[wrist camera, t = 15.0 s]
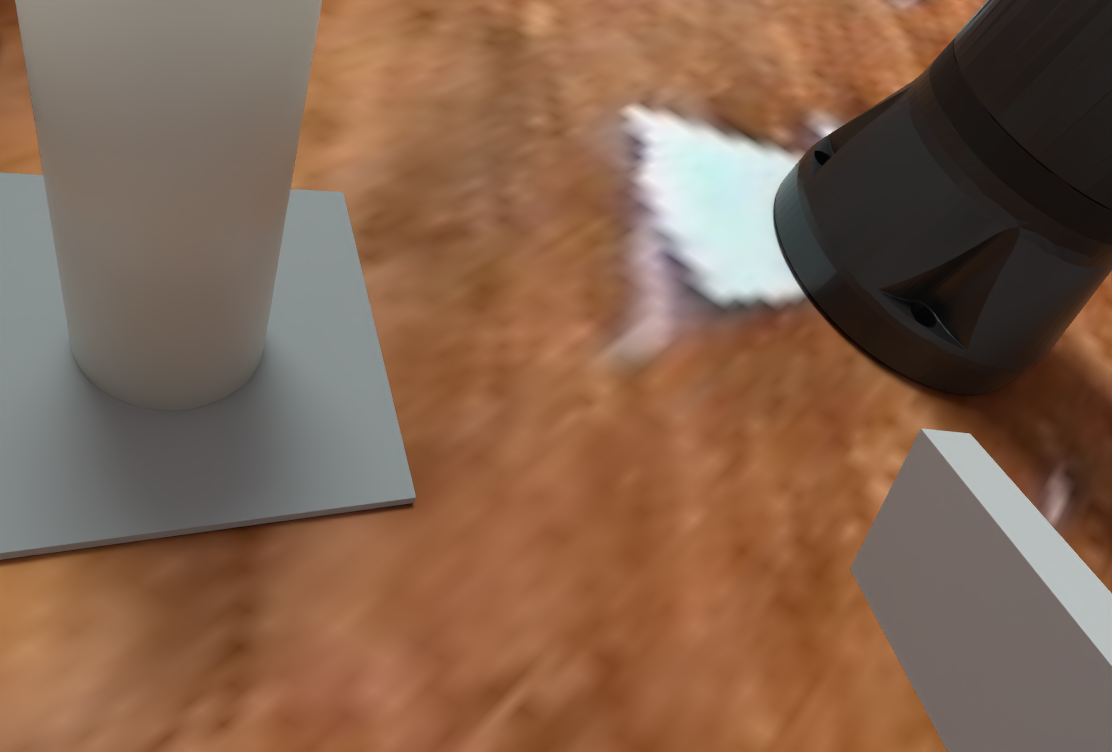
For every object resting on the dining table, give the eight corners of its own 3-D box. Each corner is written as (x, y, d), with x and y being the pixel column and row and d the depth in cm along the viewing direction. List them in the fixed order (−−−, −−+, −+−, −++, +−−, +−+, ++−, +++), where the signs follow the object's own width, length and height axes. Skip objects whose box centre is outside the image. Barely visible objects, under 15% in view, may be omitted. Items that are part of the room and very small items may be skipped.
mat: (341, 199, 28) (343, 191, 28) (412, 503, 23) (415, 497, 23) (-78, 178, 23) (-80, 167, 22) (-112, 575, 17) (-117, 568, 17)
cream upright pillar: (265, 258, 25) (356, -362, 13) (291, 414, 23) (435, -181, 11) (51, 255, 22) (-81, -533, 10) (53, 432, 20) (-120, -345, 8)
